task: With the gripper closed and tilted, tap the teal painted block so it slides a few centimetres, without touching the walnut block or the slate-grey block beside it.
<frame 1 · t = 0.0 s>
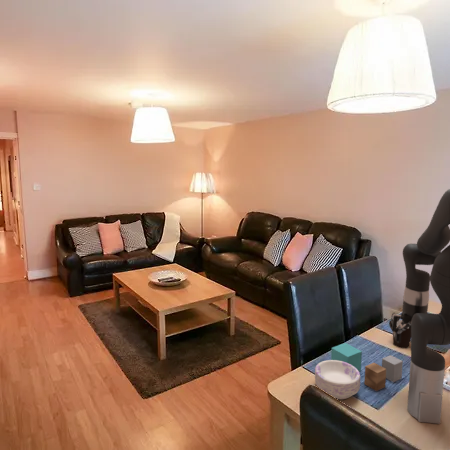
hand: (411, 342, 119), 17 cm above the table, tool pointing down, fingers open, 8 cm apart
coffee mug: (400, 343, 154), on the table
walnut block: (374, 385, 123), on the table
paper bowls: (336, 391, 120), on the table
teal block: (345, 368, 135), on the table
slate-grey block: (391, 377, 128), on the table
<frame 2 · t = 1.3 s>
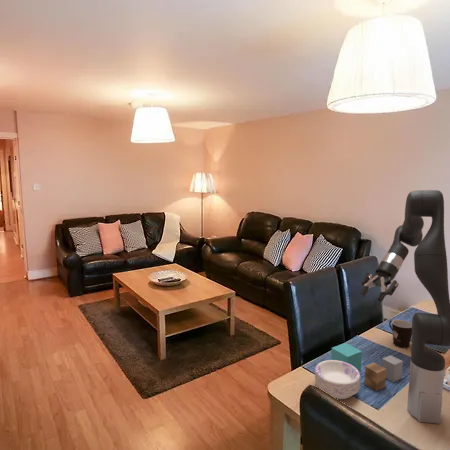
hand: (370, 298, 137), 27 cm above the table, tool tilted 45°, fingers open, 7 cm apart
nothing on the table moved.
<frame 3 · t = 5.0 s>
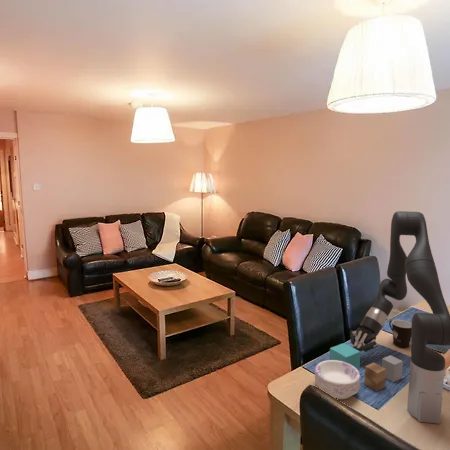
hand: (352, 356, 136), 4 cm above the table, tool tilted 45°, fingers closed
teal block: (344, 368, 134), on the table, touching gripper
everything else where it was.
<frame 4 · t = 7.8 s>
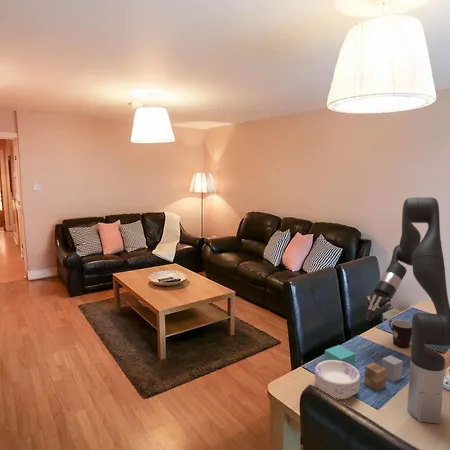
hand: (367, 319, 138), 18 cm above the table, tool tilted 45°, fingers closed
teal block: (339, 370, 133), on the table
everything else where it was.
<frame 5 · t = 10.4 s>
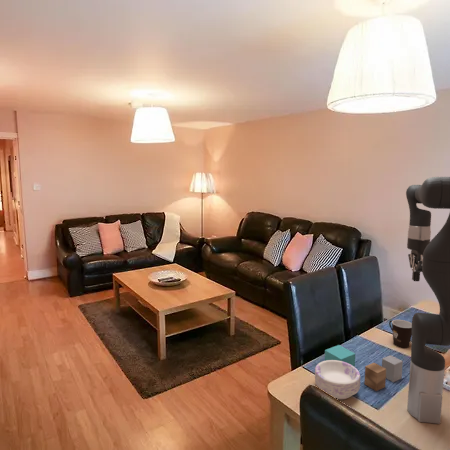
hand: (415, 280, 132), 35 cm above the table, tool pointing down, fingers closed
nothing on the table moved.
at the end: teal block moved 3.6 cm from its start; walnut block moved 0.1 cm from its start; slate-grey block moved 0.1 cm from its start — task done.
